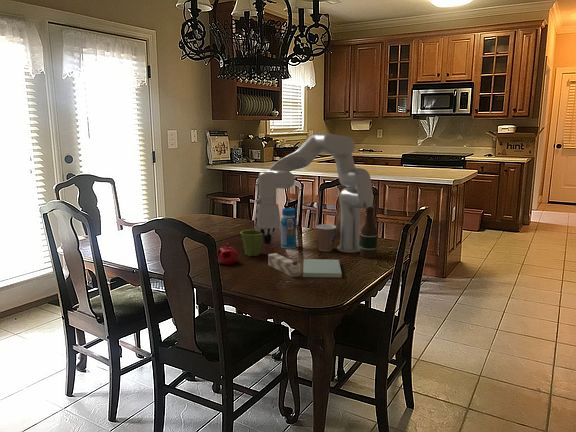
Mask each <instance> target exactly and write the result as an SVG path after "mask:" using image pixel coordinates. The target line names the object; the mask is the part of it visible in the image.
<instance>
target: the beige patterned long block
mask: <svg viewBox="0 0 576 432" xmlns="http://www.w3.org/2000/svg"><path fill="white" fill-rule="evenodd" d="M267 263H268V264H267V266H269V267H271V268H273V269H275V270H277V271H279V272H281V273H283V274H285V275H287V276H289V277H291V278H296V277H301V270H302V269H301V263H299V262H298V261H296V260H295V261H294V260H292V259H290V258H288V257H285V256H283V255H281V254H279V253H276V252H275V253H269V254H268V256H267Z"/></svg>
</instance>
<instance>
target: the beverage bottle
mask: <svg viewBox="0 0 576 432" xmlns="http://www.w3.org/2000/svg"><path fill="white" fill-rule="evenodd" d="M281 210H282V212H281V214H282V218H281V219H280V247H281V248H283V249H289V250H290V249H295V248H296V247H297V245H298V244H297V233H298V232H297V230H298V226H297V223H298V221H297V219H296V208H293V207H284V208H282V209H281Z"/></svg>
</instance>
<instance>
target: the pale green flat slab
mask: <svg viewBox="0 0 576 432" xmlns="http://www.w3.org/2000/svg"><path fill="white" fill-rule="evenodd" d="M302 268H303V273H302V276H303V278H340V279H342V277H343V276H342V275H343V273H342V269H341V264H340V260H339V259H325V258H324V259H313V258H312V259H310V258H307V259H305V258H303V267H302Z"/></svg>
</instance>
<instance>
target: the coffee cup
mask: <svg viewBox="0 0 576 432" xmlns="http://www.w3.org/2000/svg"><path fill="white" fill-rule="evenodd" d="M315 228H316V235H317V244H318V250H319V251H322V252H331V251H333V249H334V245H335V244H334V243H335V236H336V230H337V226H336V225H335V224H328V223H327V224H317V225H316V226H315Z"/></svg>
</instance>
